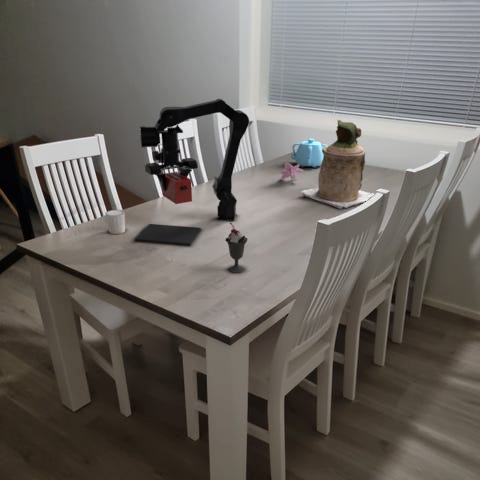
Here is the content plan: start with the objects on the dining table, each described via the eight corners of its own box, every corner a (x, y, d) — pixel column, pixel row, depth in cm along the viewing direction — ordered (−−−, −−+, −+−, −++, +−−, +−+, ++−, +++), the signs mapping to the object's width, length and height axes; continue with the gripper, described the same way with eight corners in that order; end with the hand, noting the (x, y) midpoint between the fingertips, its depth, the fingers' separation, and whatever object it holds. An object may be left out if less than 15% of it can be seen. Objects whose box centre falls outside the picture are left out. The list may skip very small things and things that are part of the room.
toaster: (193, 202, 174) (192, 179, 170) (177, 205, 171) (175, 182, 167) (178, 192, 183) (176, 171, 179) (162, 195, 180) (160, 173, 176)
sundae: (224, 265, 152) (224, 220, 144) (245, 264, 152) (246, 219, 144) (226, 274, 146) (225, 228, 138) (247, 273, 147) (248, 227, 139)
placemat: (201, 230, 177) (200, 227, 177) (190, 245, 165) (190, 243, 164) (149, 226, 180) (149, 223, 180) (135, 241, 168) (134, 238, 167)
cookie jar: (342, 210, 197) (352, 128, 180) (298, 196, 213) (304, 119, 196) (377, 198, 211) (390, 121, 194) (334, 186, 226) (342, 113, 209)
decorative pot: (305, 170, 250) (307, 143, 242) (288, 163, 262) (289, 137, 254) (329, 167, 256) (332, 140, 249) (312, 160, 268) (314, 134, 261)
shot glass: (130, 229, 178) (128, 210, 174) (120, 235, 172) (118, 216, 168) (114, 226, 180) (111, 208, 176) (104, 233, 174) (101, 214, 170)
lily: (307, 183, 233) (303, 163, 232) (302, 179, 222) (298, 159, 221) (283, 189, 237) (280, 169, 236) (277, 186, 226) (274, 165, 225)
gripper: (184, 139, 180) (186, 180, 188) (137, 144, 172) (141, 187, 180) (197, 144, 172) (199, 187, 180) (149, 150, 164) (153, 195, 172)
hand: (173, 189), depth 178 cm, fingers closed on toaster, 6 cm apart
